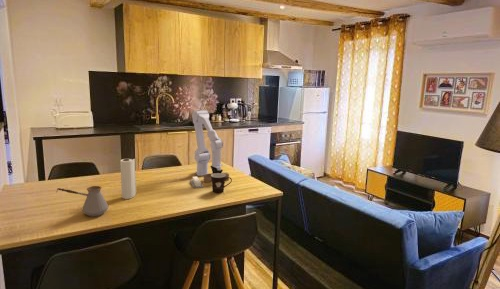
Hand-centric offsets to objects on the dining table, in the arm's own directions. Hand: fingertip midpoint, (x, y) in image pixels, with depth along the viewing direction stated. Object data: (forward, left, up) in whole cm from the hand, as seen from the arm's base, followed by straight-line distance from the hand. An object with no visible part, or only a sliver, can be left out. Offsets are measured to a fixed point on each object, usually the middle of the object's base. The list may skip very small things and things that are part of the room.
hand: (216, 178), depth 215 cm
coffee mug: (+22, -3, -2) cm, 22 cm away
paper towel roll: (+18, -54, -2) cm, 57 cm away
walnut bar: (0, 0, -2) cm, 2 cm away
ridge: (+5, -14, -1) cm, 15 cm away
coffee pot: (+37, -74, -2) cm, 83 cm away
